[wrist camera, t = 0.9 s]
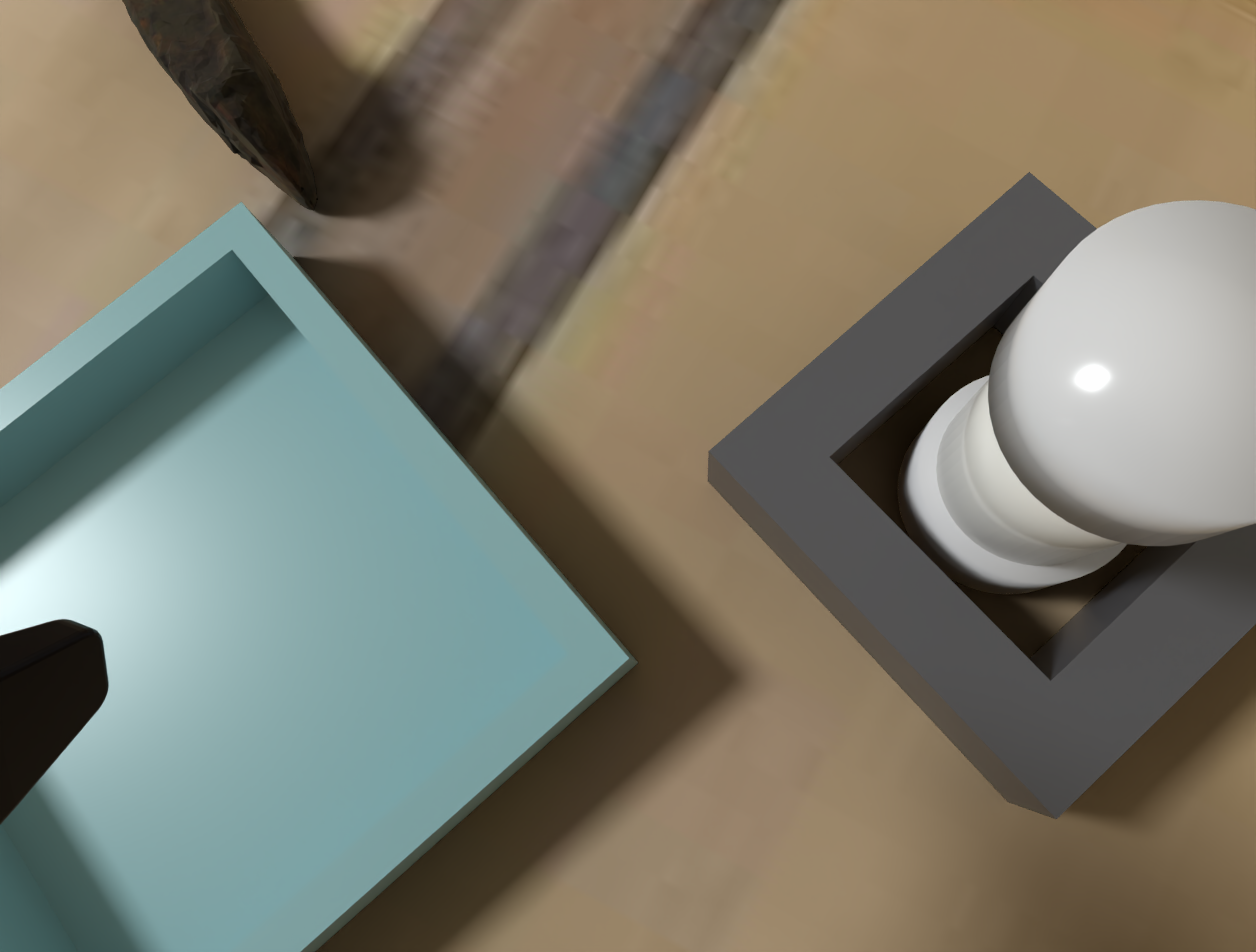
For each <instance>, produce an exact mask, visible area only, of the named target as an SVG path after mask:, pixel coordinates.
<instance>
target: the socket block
mask: <svg viewBox="0 0 1256 952" xmlns="http://www.w3.org/2000/svg"><path fill="white" fill-rule="evenodd" d="M1095 230H1096V228H1095V227H1094V226H1093V225H1092V224H1090V223H1089V222H1088V221H1087V220H1086V219H1084V218H1083V217H1082V216H1081V215H1080V214H1079V213H1077V212H1076V211H1075V210H1074V209H1073V208H1071V207H1070V206H1069V205H1068V204H1067V203H1065V202H1064V201H1063V200H1062V199H1061V198H1059V197H1058V196H1057V195H1056V194H1055V193H1054V192H1052V191H1051V190H1050V189H1049V188H1048V187H1046V186H1045V185H1044V184H1043V183H1042V182H1040V181H1039V180H1038V179H1037V178H1036V177H1035V176H1033V175H1032V174H1031V173H1030V172H1029V173H1028V174H1026V175H1025V176H1024V177H1023V178H1022V179H1021V180H1020V181H1018V182H1017V183H1016V184H1015V185H1014V186H1013V187H1012V188H1010V189H1009V190H1008V191H1007V192H1006V193H1005V194H1003V195H1002V196H1001V197H1000V198H999V199H998V200H997V201H995V202H994V203H993V204H992V205H991V206H990V207H989V208H987V209H986V210H985V211H984V212H983V213H982V214H981V215H979V216H978V217H977V218H976V219H975V220H974V221H973V222H971V223H970V224H969V225H968V226H967V227H966V228H964V229H963V230H962V231H961V232H960V233H959V234H958V235H956V236H955V237H954V238H953V239H952V240H951V241H950V242H948V243H947V244H946V245H945V246H944V247H943V248H942V249H940V250H939V251H938V252H937V253H936V254H935V255H933V256H932V257H931V258H930V259H929V260H928V261H927V262H925V263H924V264H923V265H922V266H921V267H920V268H919V269H917V270H916V271H915V272H914V273H913V274H912V275H911V276H909V277H908V278H907V279H906V280H905V281H904V282H903V283H901V284H900V285H899V286H898V287H897V288H896V289H894V290H893V291H892V292H891V293H890V294H889V295H888V296H886V297H885V298H884V299H883V300H882V301H881V302H880V303H878V304H877V305H876V306H875V307H874V308H873V309H872V310H870V311H869V312H868V313H867V314H866V315H865V316H863V317H862V318H861V319H860V320H859V321H858V322H857V323H855V324H854V325H853V326H852V327H851V328H850V329H849V330H847V331H846V332H845V333H844V334H843V335H842V336H841V337H839V338H838V339H837V340H836V341H835V342H834V343H833V344H831V345H830V346H829V347H828V348H827V349H826V350H824V351H823V352H822V353H821V354H820V355H819V356H818V357H816V358H815V359H814V360H813V361H812V362H811V363H810V364H808V365H807V366H806V367H805V368H804V369H803V370H802V371H800V372H799V373H798V374H797V375H796V376H795V377H793V378H792V379H791V380H790V381H789V382H788V383H787V384H785V385H784V386H783V387H782V388H781V389H780V390H779V391H777V392H776V393H775V394H774V395H773V396H772V397H771V398H769V399H768V400H767V401H766V402H765V403H764V404H763V405H761V406H760V407H759V408H758V409H757V410H756V411H754V412H753V413H752V414H751V415H750V416H749V417H748V418H746V419H745V420H744V421H743V422H742V423H741V424H740V425H738V426H737V427H736V428H735V429H734V430H733V431H732V432H730V433H729V434H728V435H727V436H726V437H725V438H723V439H722V440H721V441H720V442H719V443H718V444H717V445H715V446H714V447H713V448H712V449H711V450H710V451H709V458H708V482H709V483H710V484H711V485H712V486H713V487H714V488H715V489H716V490H717V491H718V492H719V493H720V495H721V496H722V497H723V498H724V499H725V500H726V501H727V502H728V503H729V504H730V505H731V506H732V507H733V508H734V510H735V511H736V512H737V513H738V514H739V515H740V516H741V517H742V518H743V519H744V520H745V521H746V522H747V523H748V524H749V526H750V527H751V528H752V529H753V530H754V531H755V532H756V533H757V534H758V535H759V536H760V537H761V538H762V539H763V541H764V542H765V543H766V544H767V545H768V546H769V547H770V548H771V549H772V550H773V551H774V552H775V553H776V554H777V556H778V557H779V558H780V559H781V560H782V561H783V562H784V563H785V564H786V565H787V566H788V567H789V568H790V569H791V570H792V572H793V573H794V574H795V575H796V576H797V577H798V578H799V579H800V580H801V581H802V582H803V583H804V584H805V585H806V587H807V588H808V589H809V590H810V591H811V592H812V593H813V594H814V595H815V596H816V597H817V598H818V599H819V600H820V602H821V603H822V604H823V605H824V606H825V607H826V608H827V609H828V610H829V611H830V612H831V613H832V614H833V615H834V616H835V618H836V619H837V620H838V621H839V622H840V623H841V624H842V625H843V626H844V627H845V628H846V629H847V630H848V631H849V633H850V634H851V635H852V636H853V637H854V638H855V639H856V640H857V641H858V642H859V643H860V644H861V645H862V646H863V647H864V649H865V650H866V651H867V652H868V653H869V654H870V655H871V656H872V657H873V658H874V659H875V660H876V661H877V662H878V664H879V665H880V666H881V667H882V668H883V669H884V670H885V671H886V672H887V673H888V674H889V675H890V676H891V677H892V679H893V680H894V681H895V682H896V683H897V684H898V685H899V686H900V687H901V688H902V689H903V690H904V691H905V692H906V693H907V695H908V696H909V697H910V698H911V699H912V700H913V701H914V702H915V703H916V704H917V705H918V706H919V707H920V708H921V710H922V711H923V712H924V713H925V714H926V715H927V716H928V717H929V718H930V719H931V720H932V721H933V722H934V723H935V725H936V726H937V727H938V728H939V729H940V730H941V731H942V732H943V733H944V734H945V735H946V736H947V737H948V738H949V739H950V741H951V742H952V743H953V744H954V745H955V746H956V747H957V748H958V749H959V750H960V751H961V752H962V753H963V754H964V756H965V757H966V758H967V759H968V760H969V761H970V762H971V763H972V764H973V765H974V766H975V767H976V768H977V769H978V770H979V772H980V773H981V774H982V775H983V776H984V777H985V778H986V779H987V780H988V781H989V782H990V783H991V784H992V785H993V787H994V788H995V789H996V790H997V791H998V792H999V793H1000V794H1001V795H1002V796H1003V797H1004V798H1005V799H1006V800H1007V802H1009V803H1012V804H1015V805H1018V806H1021V807H1024V808H1026V809H1029V810H1032V811H1035V812H1038V813H1040V814H1043V815H1046V816H1049V817H1052V818H1055V819H1057V818H1058V817H1059V816H1060V815H1061V814H1062V813H1063V812H1064V811H1065V810H1066V809H1068V808H1069V807H1070V806H1071V805H1072V804H1073V803H1074V802H1075V801H1076V800H1077V799H1078V798H1079V797H1080V796H1081V795H1082V794H1083V793H1084V792H1085V791H1086V790H1087V789H1088V788H1089V787H1090V786H1091V785H1092V784H1093V783H1094V782H1095V781H1096V780H1097V779H1098V778H1099V777H1100V776H1101V775H1102V774H1103V773H1104V772H1105V771H1106V770H1107V769H1108V768H1109V767H1110V766H1111V765H1112V764H1113V763H1114V762H1116V761H1117V760H1118V759H1119V758H1120V757H1121V756H1122V755H1123V754H1124V753H1125V752H1126V751H1127V750H1128V749H1129V748H1130V747H1131V746H1132V745H1133V744H1134V743H1135V742H1136V741H1137V740H1138V739H1139V738H1140V737H1141V736H1142V735H1143V734H1144V733H1145V732H1146V731H1147V730H1148V729H1149V728H1150V727H1151V726H1152V725H1153V724H1154V723H1155V722H1156V721H1157V720H1158V719H1159V718H1160V717H1161V716H1162V715H1164V714H1165V713H1166V712H1167V711H1168V710H1169V709H1170V708H1171V707H1172V706H1173V705H1174V704H1175V703H1176V702H1177V701H1178V700H1179V699H1180V698H1181V697H1182V696H1183V695H1184V694H1185V693H1186V692H1187V691H1188V690H1189V689H1190V688H1191V687H1192V686H1193V685H1194V684H1195V683H1196V682H1197V681H1198V680H1199V679H1200V678H1201V677H1202V676H1203V675H1204V674H1205V673H1206V672H1207V671H1208V670H1209V669H1210V668H1212V667H1213V666H1214V665H1215V664H1216V663H1217V662H1218V661H1219V660H1220V659H1221V658H1222V657H1223V656H1224V655H1225V654H1226V653H1227V652H1228V651H1229V650H1230V649H1231V648H1232V647H1233V646H1234V645H1235V644H1236V643H1237V642H1238V641H1239V640H1240V639H1241V638H1242V637H1243V636H1244V635H1245V634H1246V633H1247V632H1248V631H1249V630H1250V629H1251V628H1252V627H1253V626H1254V625H1255V624H1256V524H1252V525H1249V526H1246V527H1243V528H1239V529H1236V530H1233V531H1229V532H1226V533H1223V534H1220V535H1216V536H1213V537H1210V538H1206V539H1203V540H1199V541H1195V542H1192V543H1187V544H1180V545H1173V546H1148V547H1147V548H1146V549H1144V550H1143V551H1142V552H1141V553H1140V554H1139V555H1138V556H1137V557H1136V558H1135V559H1134V560H1133V561H1132V562H1131V563H1130V564H1129V565H1128V566H1127V567H1125V568H1124V569H1123V570H1122V571H1121V572H1120V573H1119V574H1118V575H1117V576H1116V577H1115V578H1114V579H1113V580H1112V581H1111V582H1110V583H1109V584H1108V585H1107V586H1105V587H1104V588H1103V589H1102V590H1101V591H1100V592H1099V593H1098V594H1097V595H1096V596H1095V597H1094V598H1093V599H1092V600H1091V601H1090V602H1089V603H1088V604H1087V605H1085V606H1084V607H1083V608H1082V609H1081V610H1080V611H1079V612H1078V613H1077V614H1076V615H1075V616H1074V617H1073V618H1072V619H1071V620H1070V621H1069V622H1068V623H1066V624H1065V625H1064V626H1063V627H1062V628H1061V629H1060V630H1059V631H1058V632H1057V633H1056V634H1055V635H1054V636H1053V637H1052V638H1051V639H1050V640H1049V641H1048V642H1046V643H1045V644H1044V645H1043V646H1042V647H1041V648H1040V649H1039V650H1038V651H1037V652H1036V653H1035V654H1034V655H1033V656H1032V657H1031V658H1030V659H1029V658H1028V657H1027V656H1026V655H1025V654H1024V653H1023V652H1022V651H1021V650H1020V649H1019V648H1018V647H1017V646H1016V645H1015V644H1014V643H1013V642H1012V641H1011V640H1010V639H1009V638H1008V637H1007V636H1006V635H1005V634H1004V633H1003V632H1002V631H1001V630H1000V629H999V628H998V627H997V626H996V625H995V624H994V623H993V622H992V621H991V620H990V619H989V618H988V617H987V616H986V615H985V614H984V613H983V612H982V611H981V610H980V609H979V608H978V607H977V606H976V605H975V604H974V603H973V602H972V601H971V600H970V599H969V598H968V597H967V596H966V595H965V594H964V593H963V592H962V591H961V590H960V589H959V588H958V587H957V586H956V585H955V584H954V583H953V582H952V581H951V580H950V579H949V578H948V577H947V575H946V574H945V573H944V572H943V571H942V570H941V569H940V568H939V567H938V566H937V565H936V564H935V563H934V562H933V561H932V560H931V559H930V558H929V557H928V556H927V555H926V554H925V553H924V552H923V551H922V550H921V549H920V548H919V547H918V546H917V545H916V544H915V543H914V542H913V541H912V540H911V539H910V538H909V537H908V536H907V535H906V534H905V533H904V532H903V531H902V530H901V529H900V528H899V527H898V526H897V525H896V524H895V523H894V522H893V521H892V520H891V519H890V518H889V517H888V516H887V515H886V514H885V513H884V512H883V511H882V510H881V509H880V508H879V507H878V506H877V505H876V504H875V503H874V502H873V501H872V500H871V499H870V498H869V497H868V496H867V495H866V494H865V493H864V492H863V491H862V490H861V489H860V488H859V486H858V485H857V484H856V483H855V482H854V481H853V480H852V479H851V478H850V477H849V476H848V475H847V474H846V473H845V472H844V471H843V470H842V469H841V468H840V467H839V466H838V464H839V463H840V462H841V461H842V460H843V459H844V458H846V457H847V456H848V455H849V454H850V453H851V452H852V451H853V450H855V449H856V448H857V447H858V446H859V445H860V444H861V443H862V442H864V441H865V440H866V439H867V438H868V437H869V436H870V435H871V434H873V433H874V432H875V431H876V430H877V429H878V428H879V427H880V426H881V425H883V424H884V423H885V422H886V421H887V420H888V419H889V418H890V417H892V416H893V415H894V414H895V413H896V412H897V411H898V410H899V409H901V408H902V407H903V406H904V405H905V404H906V403H907V402H908V401H910V400H911V399H912V398H913V397H914V396H915V395H916V394H917V393H919V392H920V391H921V390H922V389H923V388H924V387H925V386H926V385H928V384H929V383H930V382H931V381H932V380H933V379H934V378H935V377H936V376H938V375H939V374H940V373H941V372H942V371H943V370H944V369H945V368H947V367H948V366H949V365H950V364H951V363H952V362H953V361H954V360H956V359H957V358H958V357H959V356H960V355H961V354H962V353H963V352H965V351H966V350H967V349H968V348H969V347H970V346H971V345H972V344H974V343H975V342H976V341H977V340H978V339H979V338H980V337H981V336H983V335H984V334H985V333H986V332H987V331H988V330H989V329H990V328H991V327H993V326H995V327H996V328H997V329H998V330H999V331H1000V332H1001V333H1002V334H1003V335H1004V333H1005V331H1006V330H1007V329H1008V327H1009V326H1010V325H1011V323H1012V322H1013V320H1014V319H1015V318H1016V316H1017V315H1018V314H1019V313H1020V312H1021V310H1022V309H1023V308H1024V307H1025V306H1026V305H1027V303H1028V302H1029V301H1030V300H1031V299H1032V297H1033V296H1034V295H1035V294H1036V293H1037V291H1038V290H1039V289H1040V288H1041V287H1042V285H1043V284H1044V283H1045V282H1046V281H1047V279H1048V278H1049V277H1050V276H1051V275H1052V273H1053V272H1054V271H1055V270H1056V269H1057V267H1058V266H1059V265H1060V264H1061V263H1062V262H1063V260H1064V259H1065V258H1066V257H1067V256H1068V254H1069V253H1070V252H1071V251H1072V250H1073V249H1074V248H1075V247H1076V246H1077V245H1078V244H1079V243H1080V242H1081V241H1082V240H1084V239H1085V238H1086V237H1087V236H1089V235H1090V234H1091V233H1093V232H1094V231H1095Z"/></svg>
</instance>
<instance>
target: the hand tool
mask: <svg viewBox="0 0 1256 952" xmlns="http://www.w3.org/2000/svg"><path fill="white" fill-rule="evenodd" d="M122 1H123V2H124V4H125V6H126V9H127V11H128V13H129V16H130V18H131V20H132V22H133V23H134V25H135V26H136V27H137V29H138V31H139V33H140V35H141V37H142V38H143V40H144V42H145V44H146V45H147V47H148V49H149V50H150V51H151V53H152V54H153V55H154V56H155V58H156V59H157V61H158V62H159V64H160V65H161V66H162V68H163V69H164V70H165V71H166V72H167V74H168V75H169V76H170V77H171V78H172V80H173V81H174V82H175V83H176V84H177V86H178V87H179V88H180V89H181V90H182V92H183V93H184V95H185V97H186V98H187V100H188V101H189V103H190V104H191V105H192V107H193V108H194V109H195V110H196V111H197V112H198V114H199V115H200V116H201V117H202V118H203V120H204V121H205V122H206V123H207V124H208V125H209V126H210V127H211V128H212V129H213V130H214V131H215V132H216V133H217V134H218V135H219V136H220V137H221V138H222V139H223V141H224V142H225V143H226V144H227V146H228V147H229V148H230V149H231V150H232V152H233V153H234V154H236V153H238V154H239V155H240V156H241V158H244V159H246V160H247V161H248V162H249V163H250V164H251V165H252V166H253V167H255V168H256V169H257V170H258V171H260V172H261V173H262V174H264V175H265V176H266V177H268V178H269V179H270V180H271V181H272V182H273V183H274V184H275V185H276V186H277V187H278V188H280V189H281V190H282V191H284V192H285V193H287V194H288V195H289V196H290V197H292V198H293V199H294V200H295V201H296V202H298V203H299V204H300V205H302V206H304V207H305V208H307V209H309V210H314V207H315V204H316V200H318V198H317V199H316V194H317V193H316V187H315V180H314V173H313V170H312V168H311V165H310V162H309V156H308V153H307V151H306V149H305V146H304V144H303V138H302V133H301V131H300V129H299V127H298V125H297V123H296V121H295V119H294V117H293V115H292V113H291V111H290V109H289V106H288V101H287V99H286V96H285V94H284V92H283V90H282V88H281V85H280V82H279V79H278V78H277V77H276V75H275V74H274V73H273V71H272V70H271V68H270V66H269V65H268V64H267V62H266V61H265V60H264V58H263V57H262V55H261V54H260V52H259V50H258V48H257V46H256V45H255V43H254V41H253V39H252V38H251V36H250V35H249V33H248V31H247V30H246V28H245V26H244V24H243V22H242V21H241V19H240V17H239V15H238V14H237V12H236V10H235V9H234V7H233V6H232V4H231V3H230V1H229V0H122Z"/></svg>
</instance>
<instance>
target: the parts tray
mask: <svg viewBox="0 0 1256 952" xmlns="http://www.w3.org/2000/svg"><path fill="white" fill-rule="evenodd" d="M58 619H68V620H73V621H75V622H78V623H80V624H83V625H86V626H88V627H91V628H93V629H95V630H97V631H98V632H99V633H100V635H101V636H102V639H103V644H104V651H105V659H106V666H107V673H108V681H109V688H108V693H107V696H106V698H105V700H104V702H103V704H102V706H101V707H100V708H99V710H98V711H97V712H96V713H95V715H94V716H93V717H92V718H91V719H90V721H89V722H88V723H87V724H86V725H85V726H84V728H83V729H82V730H81V731H80V732H79V734H78V735H77V736H76V737H75V738H74V739H73V741H72V742H71V743H70V744H69V745H68V747H67V748H66V749H65V750H64V751H63V752H62V754H61V755H60V756H59V757H58V758H57V760H56V761H55V762H54V763H53V764H52V765H51V767H50V768H49V769H48V770H47V771H46V773H45V774H44V775H43V776H42V777H41V778H40V780H39V781H38V782H37V783H36V784H35V785H34V787H33V788H32V789H31V790H30V791H29V793H28V794H27V795H26V796H25V797H24V798H23V800H22V801H21V802H20V803H19V804H18V806H17V807H16V808H15V809H14V810H13V811H12V812H11V813H10V815H9V816H8V817H7V818H6V819H5V820H4V821H3V822H2V824H1V825H0V952H315V951H317V950H318V949H319V948H320V947H321V946H322V945H323V944H324V943H326V942H327V941H328V940H329V939H330V938H331V937H332V936H333V935H335V934H336V933H337V932H338V931H339V930H340V929H341V928H342V927H343V926H345V925H346V924H347V923H348V922H349V921H350V920H351V919H352V918H354V917H355V916H356V915H357V914H358V913H359V912H360V911H361V910H362V909H364V908H365V907H366V906H367V905H368V904H369V903H370V902H371V901H373V900H374V899H375V898H376V897H377V896H378V895H379V894H380V893H381V892H383V891H384V890H385V889H386V888H387V887H388V886H389V885H390V884H392V883H393V882H394V881H395V880H396V879H397V878H398V877H399V876H401V875H402V874H403V873H404V872H405V871H406V870H407V869H408V868H409V867H411V866H412V865H413V864H414V863H415V862H416V861H417V860H418V859H420V858H421V857H422V856H423V855H424V854H425V853H426V852H427V851H428V850H430V849H431V848H432V847H433V846H434V845H435V844H436V843H437V842H439V841H440V840H441V839H442V838H443V837H444V836H445V835H446V834H447V833H449V832H450V831H451V830H452V829H453V828H454V827H455V826H456V825H458V824H459V823H460V822H461V821H462V820H463V819H464V818H465V817H467V816H468V815H469V814H470V813H471V812H472V811H473V810H474V809H475V808H477V807H478V806H479V805H480V804H481V803H482V802H483V801H484V800H486V799H487V798H488V797H489V796H490V795H491V794H492V793H493V792H494V791H496V790H497V789H498V788H499V787H500V786H501V785H502V784H503V783H505V782H506V781H507V780H508V779H509V778H510V777H511V776H512V775H513V774H515V773H516V772H517V771H518V770H519V769H520V768H521V767H522V766H524V765H525V764H526V763H527V762H528V761H529V760H530V759H531V758H532V757H534V756H535V755H536V754H537V753H538V752H539V751H540V750H541V749H543V748H544V747H545V746H546V745H547V744H548V743H549V742H550V741H552V740H553V739H554V738H555V737H556V736H557V735H558V734H559V733H560V732H562V731H563V730H564V729H565V728H566V727H567V726H568V725H569V724H571V723H572V722H573V721H574V720H575V719H576V718H577V717H578V716H579V715H581V714H582V713H583V712H584V711H585V710H586V709H587V708H588V707H590V706H591V705H592V704H593V703H594V702H595V701H596V700H597V699H598V698H600V697H601V696H602V695H603V694H604V693H605V692H606V691H607V690H609V689H610V688H611V687H612V686H613V685H614V684H615V683H616V682H618V681H619V680H620V679H621V678H622V677H623V676H624V675H625V674H626V673H628V672H629V671H630V670H631V669H632V668H633V667H634V666H635V665H637V664H638V662H637V661H636V659H635V658H634V657H633V656H632V655H631V653H630V652H629V651H628V650H627V649H626V648H625V646H624V645H623V644H622V643H621V642H620V641H619V639H618V638H617V637H616V636H615V635H614V634H613V632H612V631H611V630H610V629H609V628H608V626H607V625H606V624H605V623H604V622H603V621H602V619H601V618H600V617H599V616H598V615H597V614H596V612H595V611H594V610H593V609H592V608H591V607H590V605H589V604H588V603H587V602H586V601H585V599H584V598H583V597H582V596H581V595H580V594H579V592H578V591H577V590H576V589H575V588H574V587H573V585H572V584H571V583H570V582H569V581H568V580H567V578H566V577H565V576H564V575H563V574H562V572H561V571H560V570H559V569H558V568H557V567H556V565H555V564H554V563H553V562H552V561H551V560H550V558H549V557H548V556H547V555H546V554H545V553H544V551H543V550H542V549H541V548H540V547H539V545H538V544H537V543H536V542H535V541H534V540H533V538H532V537H531V536H530V535H529V534H528V533H527V531H526V530H525V529H524V528H523V527H522V526H521V524H520V523H519V522H518V521H517V520H516V518H515V517H514V516H513V515H512V514H511V513H510V511H509V510H508V509H507V508H506V507H505V506H504V504H503V503H502V502H501V501H500V500H499V499H498V497H497V496H496V495H495V494H494V493H493V491H492V490H491V489H490V488H489V487H488V486H487V484H486V483H485V482H484V481H483V480H482V479H481V477H480V476H479V475H478V474H477V473H476V472H475V470H474V469H473V468H472V467H471V466H470V464H469V463H468V462H467V461H466V460H465V459H464V457H463V456H462V455H461V454H460V453H459V452H458V450H457V449H456V448H455V447H454V446H453V445H452V443H451V442H450V441H449V440H448V439H447V437H446V436H445V435H444V434H443V433H442V432H441V430H440V429H439V428H438V427H437V426H436V425H435V423H434V422H433V421H432V420H431V419H430V418H429V416H428V415H427V414H426V413H425V412H424V411H423V409H422V408H421V407H420V406H419V405H418V403H417V402H416V401H415V400H414V399H413V398H412V396H411V395H410V394H409V393H408V392H407V391H406V389H405V388H404V387H403V386H402V385H401V384H400V382H399V381H398V380H397V379H396V378H395V376H394V375H393V374H392V373H391V372H390V371H389V369H388V368H387V367H386V366H385V365H384V364H383V362H382V361H381V360H380V359H379V358H378V357H377V355H376V354H375V353H374V352H373V351H372V349H371V348H370V347H369V346H368V345H367V344H366V342H365V341H364V340H363V339H362V338H361V337H360V335H359V334H358V333H357V332H356V331H355V330H354V328H353V327H352V326H351V325H350V324H349V322H348V321H347V320H346V319H345V318H344V317H343V315H342V314H341V313H340V312H339V311H338V310H337V308H336V307H335V306H334V305H333V304H332V303H331V301H330V300H329V299H328V298H327V297H326V295H325V294H324V293H323V292H322V291H321V290H320V288H319V287H318V286H317V285H316V284H315V283H314V281H313V280H312V279H311V278H310V277H309V276H308V274H307V273H306V272H305V271H304V270H303V268H302V267H301V266H300V265H299V264H298V263H297V261H296V260H295V259H294V258H293V257H292V256H291V255H290V253H289V252H288V251H287V250H286V249H285V248H284V247H283V246H282V245H281V244H280V243H279V242H278V241H277V240H276V238H275V237H274V236H273V235H272V234H271V233H270V232H269V231H268V230H267V229H266V228H265V227H264V226H263V225H262V224H261V222H260V221H259V220H258V219H257V218H256V217H255V216H254V215H253V214H252V213H251V212H250V211H249V210H248V209H247V207H246V206H245V205H244V204H243V203H242V202H240V203H239V204H238V205H236V206H235V207H234V208H233V209H231V210H230V211H229V212H227V213H226V214H225V215H224V216H222V217H221V218H220V219H218V220H217V221H216V222H215V223H213V224H212V225H211V226H209V227H208V228H207V229H206V230H204V231H203V232H202V233H200V234H199V235H198V236H197V237H195V238H194V239H193V240H191V241H190V242H189V243H188V244H186V245H185V246H184V247H182V248H181V249H180V250H179V251H177V252H176V253H175V254H173V255H172V256H171V257H170V258H168V259H167V260H166V261H164V262H163V263H162V264H161V265H159V266H158V267H157V268H156V269H154V270H153V271H152V272H150V273H149V274H148V275H147V276H145V277H144V278H143V279H141V280H140V281H139V282H138V283H136V284H135V285H134V286H132V287H131V288H130V289H129V290H127V291H126V292H125V293H123V294H122V295H121V296H120V297H118V298H117V299H116V300H114V301H113V302H112V303H111V304H109V305H108V306H107V307H105V308H104V309H103V310H102V311H100V312H99V313H98V314H96V315H95V316H94V317H93V318H91V319H90V320H89V321H87V322H86V323H85V324H84V325H82V326H81V327H80V328H78V329H77V330H76V331H75V332H73V333H72V334H71V335H69V336H68V337H67V338H66V339H64V340H63V341H62V342H60V343H59V344H58V345H57V346H55V347H54V348H53V349H51V350H50V351H49V352H48V353H46V354H45V355H44V356H42V357H41V358H40V359H39V360H37V361H36V362H35V363H33V364H32V365H31V366H30V367H28V368H27V369H26V370H24V371H23V372H22V373H21V374H19V375H18V376H17V377H15V378H14V379H13V380H12V381H10V382H9V383H8V384H6V385H5V386H4V387H3V388H1V389H0V635H4V634H7V633H11V632H14V631H18V630H21V629H25V628H28V627H32V626H35V625H39V624H43V623H46V622H50V621H53V620H58Z"/></svg>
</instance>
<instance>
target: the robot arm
mask: <svg viewBox="0 0 1256 952" xmlns="http://www.w3.org/2000/svg"><path fill="white" fill-rule="evenodd" d="M108 688H109V681H108V673H107V666H106V659H105V651H104V644H103V639H102V636H101V635H100V633H99V632H98V631H97V630H95V629H93V628H91V627H88V626H86V625H83V624H80V623H78V622H75V621H73V620H68V619H58V620H53V621H50V622H46V623H43V624H39V625H35V626H32V627H28V628H25V629H21V630H18V631H14V632H11V633H7V634H4V635H0V825H1V824H2V822H3V821H4V820H5V819H6V818H7V817H8V816H9V815H10V813H11V812H12V811H13V810H14V809H15V808H16V807H17V806H18V804H19V803H20V802H21V801H22V800H23V798H24V797H25V796H26V795H27V794H28V793H29V791H30V790H31V789H32V788H33V787H34V785H35V784H36V783H37V782H38V781H39V780H40V778H41V777H42V776H43V775H44V774H45V773H46V771H47V770H48V769H49V768H50V767H51V765H52V764H53V763H54V762H55V761H56V760H57V758H58V757H59V756H60V755H61V754H62V752H63V751H64V750H65V749H66V748H67V747H68V745H69V744H70V743H71V742H72V741H73V739H74V738H75V737H76V736H77V735H78V734H79V732H80V731H81V730H82V729H83V728H84V726H85V725H86V724H87V723H88V722H89V721H90V719H91V718H92V717H93V716H94V715H95V713H96V712H97V711H98V710H99V708H100V707H101V706H102V704H103V702H104V700H105V698H106V696H107V693H108Z"/></svg>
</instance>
